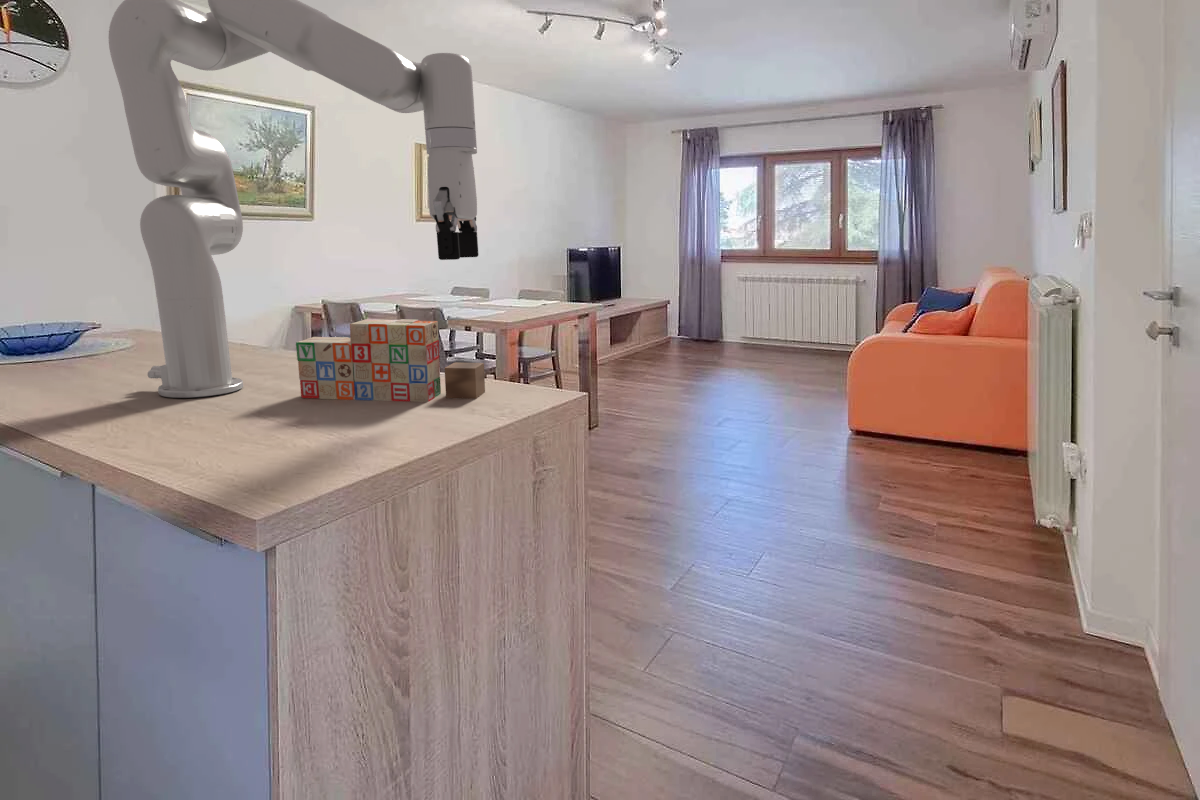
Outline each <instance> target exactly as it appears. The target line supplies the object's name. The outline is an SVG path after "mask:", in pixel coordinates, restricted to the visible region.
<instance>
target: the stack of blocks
mask: <svg viewBox="0 0 1200 800" xmlns="http://www.w3.org/2000/svg"><path fill="white" fill-rule="evenodd" d="M349 336H350V337H346V336H345V337H344V336H333V337H332V336H312V337H308V338H306V339H303V340H300V341H295V346H296V347H295V350H296V359H297V365H298V366H297V367H298V379H299V385H300V386H299V387H300V397H301V399H317V400H318V399H321V400H347V401H379V402H380V401H381V402H383V401H385V402H387V401H388V402H415V403H417V402H418V403H419V402H420V403H421V402H422V403H429V402H430V401H432V400H434V399H435V398H437V397H438V396H440V395H441V394H442V393H441V392H442V388H441V368H440V339H439V321H438V320H419V319H414V318H413V319H408V318H407V319H403V318H401V319H373V318H372V319H370V318H369V319H367V318H365V319H362V320H359V321H356V322H352V323H351V322H350V323H349Z"/></svg>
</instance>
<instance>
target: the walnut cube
mask: <svg viewBox="0 0 1200 800" xmlns="http://www.w3.org/2000/svg"><path fill="white" fill-rule="evenodd" d="M485 377H486V376H485V363H484V362H459V361H458V362H457V361H456V362H455V361H454V362H453V363H451V364H449V365H447V366H446V367H444V380H445V381H444V383H445V384H444V385H445V386H444V387H445V398H446V399H466V400H467V399H468V400H469V399H470V400H477V399H479V398H480V397H481V396H482V395H484V394H485V393H486V386H485V384H486V382H485V379H486V378H485Z"/></svg>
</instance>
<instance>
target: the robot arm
mask: <svg viewBox="0 0 1200 800" xmlns="http://www.w3.org/2000/svg"><path fill="white" fill-rule="evenodd" d="M207 5H208V7H209V10H210V12H209V11H208V12H203V11H202V10H199V9H197V8H195V7H193V6H191V5H189V4H187V3H185V2H184V1H183V2H182V1H180V0H123V1H122V2H121V3H120V4H119V5H118V7H117V8H116V9H115V11H114V13H113V16H112V17H111V21H110V24H109V27H108V28H109V29H108V48H109V54H110V58H111V62H112V65H113V69H114V72H115V75H116V78H117V82H118V85H119V88H120V92H121V96H122V101H123V106H124V113H125V117H126V121H127V127H128V130H129V135H130V139H131V145H132V148H133V154H134V156H135V157H134V158H135V162H136V164H137V167H138V169H139V171H140V173H141V175H143V177H144V178H145V179H147V180H148V181H150V182H151V183H153V184H157V185H161V186H165V187H171V188H180V191H181V194H169V195H162V196H159V197H156V198H154V199H153V200H151V201H150V202H149V203H148V204H147V205H146V206H145V207H144V209H143V210H142V212H141V216H140V220H139V226H140V227H139V228H140V234H141V238H142V242H143V244H144V247H145V249H146V253H147V255H148V260H149V262H150V267H151V270H152V271H151V272H152V275H153V283H154V288H155V289H154V290H155V296H156V303H157V309H158V318H159V325H160V330H161V332H160V333H161V339H162V347H163V353H164V363H165V364H162V365H153V366H152V367H150V369H149V370H148V372H147V377H148V378H149V379H161V385H159V386H158V388H157V390H158V391H157V392H158V395H160V396H161V397H165V398H174V399H177V398H179V399H180V398H181V399H185V398H186V399H187V398H188V399H189V398H203V397H211V396H212V397H213V396H219V395H226V394H229V393H232V392H237V391H238V390H240V389H241V390H242V388H243V387H244V381H243V379H241V378H238V377H234V376H233V372H232V363H231V356H230V355H231V354H230V346H229V337H228V328H227V321H226V310H225V303H224V295H223V287H222V281H221V277H220V274H219V273H220V272H219V271H218V267H217V266H216V263H215V261H214V258H213V256H214V255H223V254H227V253H229V252H231V251H233V250H235V248H236V247H237V246H238V245H239V243H240V242H241V239H242V237H243V231H244V226H243V225H244V223H243V216H242V215H243V214H242V210H241V206H240V200H239V195H238V190H237V184H236V180H235V174H234V170H233V165H232V162H231V159H230V155H228V152H227V150H226V148H225V147H224V146H223V144H222V143H221V142H220V141H219V140H218V139H217V138H216V137H214V136H213V135H212V134H209V133H207V132H205V131H202V130H200V129H194V128H193V126H192V123H191V119H190V115H189V111H188V106H187V105H188V104H187V99H186V96H185V93H184V90H183V87H182V85H181V83H180V81H179V79H178V77H177V75H176V74H175V72H174V70H173V67H172V64H171V62H172V61H175V62H177V63H180V64H182V65H185V66H188V67H191V68H194V69H197V70H199V71H200V70H201V71H206V72H209V71H210V72H211V71H212V72H213V71H219V70H222V69H226V68H229V67H232V66H234V65H235V66H236V65H238V64H241V63H243V62H246V61H249V60H251V59H254V58H257V57H260V56H262V55H265V54H268V53H272V54H274V55H276V56H278V57H280V58H281V59H284V60H285V61H287V62H289V63H292V64H294V65H295V66H297V67H299V68H300V69H303V70H305V71H307V72H310V71H311V72H314V73H316V74H318V75H321V76H323V77H325V78H327V79H329V80H331V81H332V82H335V83H337V84H339V85H341V86H343V87H345V88H346V89H348V90H351V91H353V92H354V93H357V94H358V95H360V96H362V97H364V98H366V99H367V100H370V101H372V102H374V103H376V104H379V105H381V106H383V107H386V108H388V109H389V110H392V111H393V112H397V113H400V114H410V113H411V114H413V113H417V112H421V111H423V119H424V120H423V122H424V130H425V131H424V132H425V133H424V134H425V145H426V146H425V147H426V155H428V163H427V165H428V166H427V167H428V169H427V177H428V178H427V179H428V180H427V182H428V185H427V186H428V208H429V209H428V210H429V211H428V212H429V215H430V218H432V220H434V221H435V232H436V242H437V255H438V259H439V260H440V261H445V260H446V261H448V260H450V261H451V260H453V261H455V260H459V259H462V258H463V259H464V258H477V257H479V243H478V232H477V231H478V226H477V222H476V221H477V215H478V201H477V200H478V199H477V198H478V197H477V186H476V179H475V178H476V177H475V167H474V160H473V155H476V154H477V153H478V147H477V146H478V145H477V132H476V131H477V130H476V117H475V116H476V115H475V100H474V99H475V97H474V87H473V86H474V84H473V72H472V71H473V70H472V65H471V62H470V61H469V59H468V58H467V57H465V56H464V55H461V54H458V53H452V52H437V53H435V52H434V53H431V54H428V55H426V56H424V57H422V60H421V62H416V61H413V60H410V59H407V58H405V57H404V56H403V55H402V54H400V53H399V52H397V51H395V50H393V49H392V48H390V47H387V46H386V45H384V44H381V43H380V42H378V41H376V40H374V39H372V38H369V37H368V36H366V35H363V34H362V33H360V32H358V31H356V30H353V29H352V28H349V27H348V26H346V25H344V24H342V23H340V22H338V21H336V20H334V19H332V18H330V17H329V15H327V14H326V13H324V12H322V11H320V10H318V9H316V8H315V7H312V6H310V5H308V4H306V3H304V2H302V1H300V0H207ZM457 228H458V231H457Z"/></svg>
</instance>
